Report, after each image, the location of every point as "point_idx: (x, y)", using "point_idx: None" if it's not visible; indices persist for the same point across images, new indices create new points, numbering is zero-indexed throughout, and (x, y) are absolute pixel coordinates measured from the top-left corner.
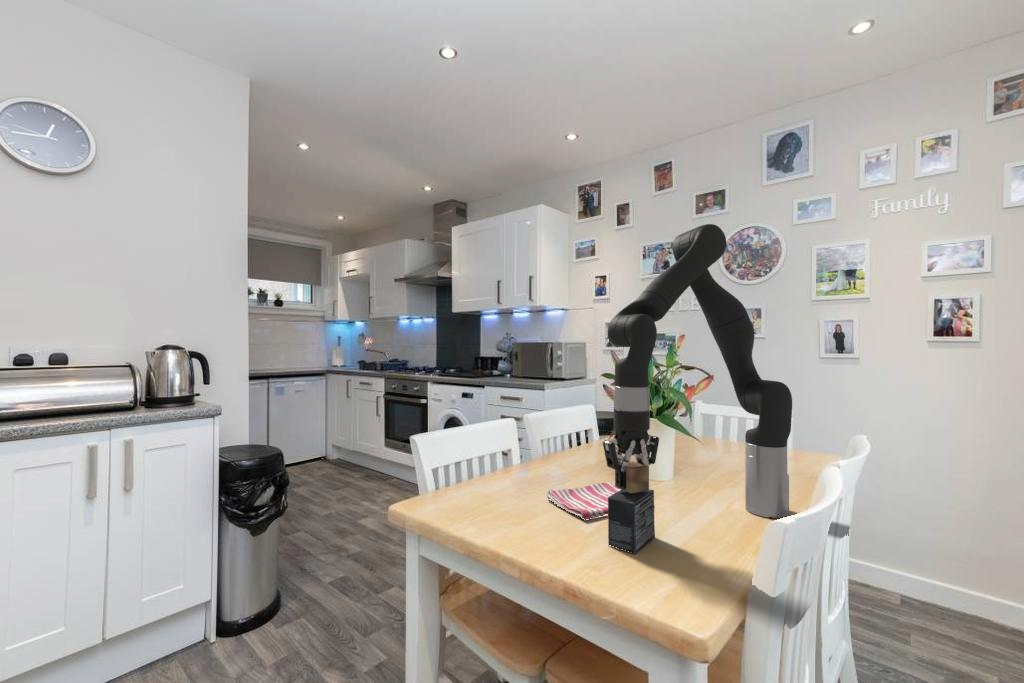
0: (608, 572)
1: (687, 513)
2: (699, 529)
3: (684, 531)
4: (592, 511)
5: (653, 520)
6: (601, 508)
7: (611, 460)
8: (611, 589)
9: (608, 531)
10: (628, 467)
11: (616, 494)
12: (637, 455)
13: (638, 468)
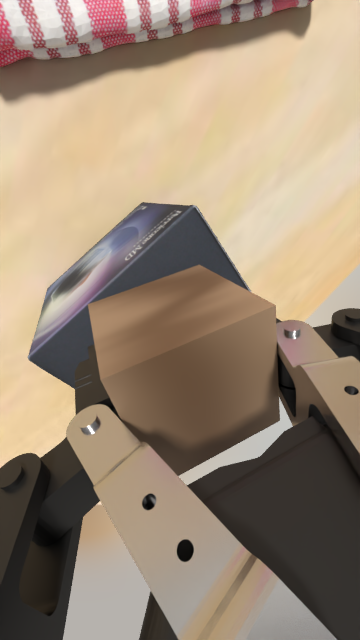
0: (15, 401)
1: (340, 129)
2: (294, 233)
3: (262, 237)
4: (34, 34)
5: None
6: (92, 2)
7: (27, 524)
8: (7, 449)
9: (43, 303)
10: (162, 456)
11: (81, 329)
12: (304, 412)
13: (211, 455)
